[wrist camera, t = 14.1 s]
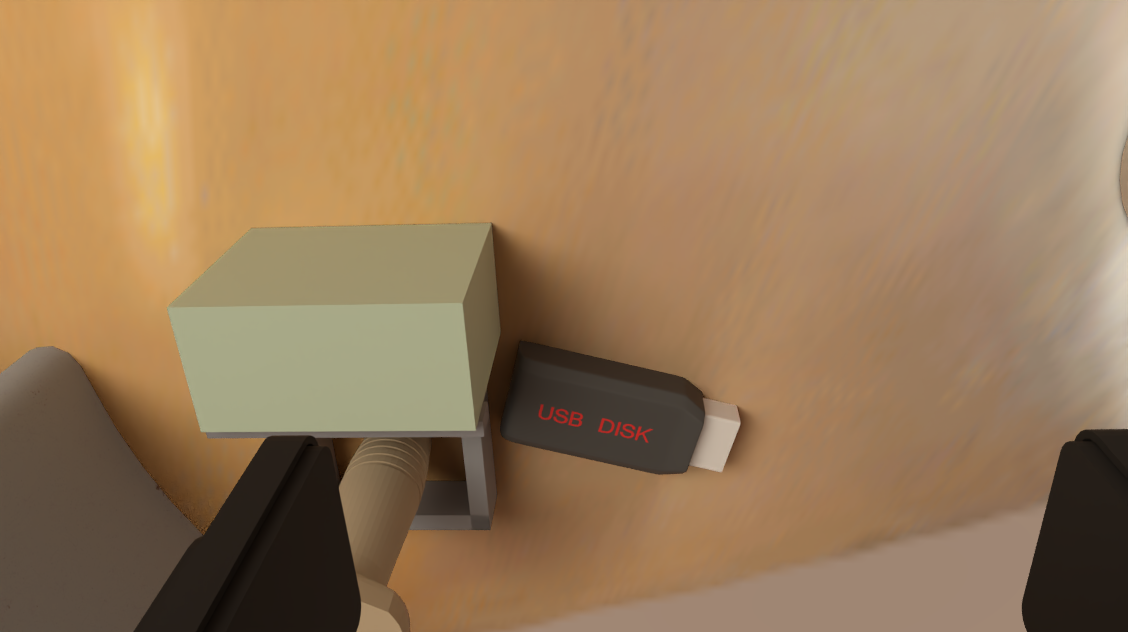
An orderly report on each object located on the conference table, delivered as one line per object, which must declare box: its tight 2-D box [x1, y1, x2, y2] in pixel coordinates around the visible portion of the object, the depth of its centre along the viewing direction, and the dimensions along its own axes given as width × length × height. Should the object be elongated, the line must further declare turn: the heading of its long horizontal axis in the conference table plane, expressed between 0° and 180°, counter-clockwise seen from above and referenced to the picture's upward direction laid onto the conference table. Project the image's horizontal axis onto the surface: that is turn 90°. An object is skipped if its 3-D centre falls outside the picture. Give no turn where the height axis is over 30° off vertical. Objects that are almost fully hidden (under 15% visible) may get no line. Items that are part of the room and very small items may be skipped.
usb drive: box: [500, 341, 741, 474], centre depth 45 cm, size 5×12×3 cm, turn 77°
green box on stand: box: [167, 223, 501, 530], centre depth 42 cm, size 12×16×9 cm
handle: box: [339, 437, 432, 632], centre depth 41 cm, size 5×6×15 cm
